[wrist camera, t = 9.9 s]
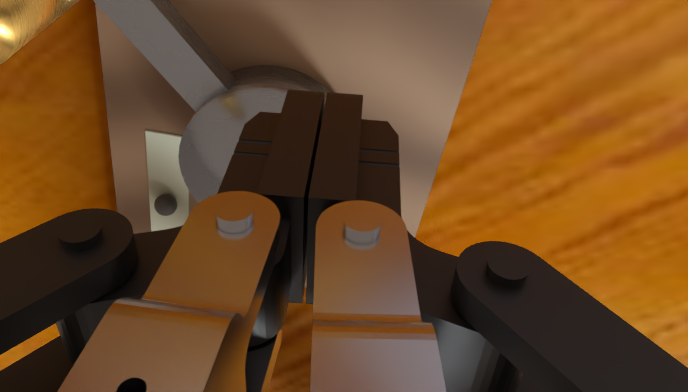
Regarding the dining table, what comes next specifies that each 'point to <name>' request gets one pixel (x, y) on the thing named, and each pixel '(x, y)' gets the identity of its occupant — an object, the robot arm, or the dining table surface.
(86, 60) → the dining table surface
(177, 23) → the capstan
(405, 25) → the stand
